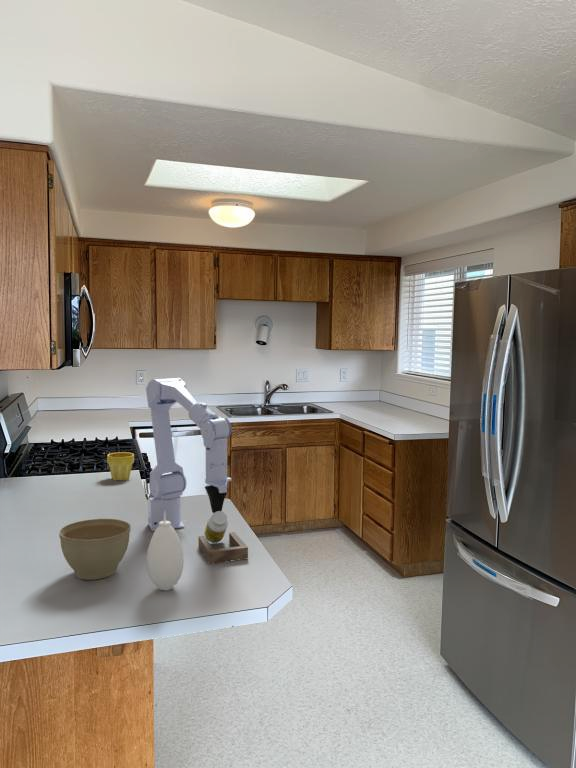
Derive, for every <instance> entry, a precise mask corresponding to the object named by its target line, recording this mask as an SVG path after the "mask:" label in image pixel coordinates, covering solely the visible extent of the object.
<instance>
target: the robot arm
mask: <svg viewBox="0 0 576 768" xmlns="http://www.w3.org/2000/svg"><path fill="white" fill-rule="evenodd" d="M145 390H146V391H145V392H146V399H147V407H148V408H149V409H150V417H151V424H152V431H153V440H154V447H155V449H154V450H155V457H156V466H155V467H154V468H152V469H151V471H150V472H149V483H148V487H149V491H150V493H151V495H152V496H153V497H149V498H148V502H147V508H148V509H147V511H148V513H147V514H148V516H147V523H148V526H149V528H150V530H151V532H155V531H156V529H157V528H158V527H159V522H161V521H164V511H165V513H166V521H170V522H171V526H172V527H173V528H174V529H179V528H180V529H181V528H184V527H185V525H184V523H183V522H182V520H181V519H182V518H181V517H182V516H181V515H182V514H181V512H182V509H181V504H182V503H181V502H182V501H181V496H183V493H184V492H185V490H186V489H187V482H188V481H187V479H186V476H185V474H184V468H183V467H182V466H181V465H180V464H178V463H177V462H176V459H175V451H174V443H173V442H174V441H173V435H172V427H171V419H170V410H171V408H172V407H173V406H175V404H177V403H178V404H179V405H180V406H181V407H183V408H184V409H185V410H186V411H188V418H189V419H190V420H191V421H192V422H193V424H195V425H196V426H197V427H198V428H199V429H200V435H201V437H202V439H203V440H202V441H203V447H205V479H204V482H205V484H207V485H206V486H205V485H204V490H205V491H206V493H207V495H208V499H209V504H210V508H211V511H212V513H213V514H214V513H215V512H217V511H222V512H223V507H224V502H225V499H226V496H227V494H228V493H229V487H228V483H229V482H232V478H231V477H228V439H229V437H230V436H231V435H232V424H231V422H230V420H229V419H228V418H227V417H225V416H221V415H220V416H218V415H217V414H216V413H215V412H214V411H213V410H212V409H211V408H210V407H209V406H208V404H207V403H206V402H198V401H197V400H196V399H195V398H194V397H193V396H192V394H191V393H190V392H189V391H188V389H187V384H186V382H185V381H184V380H183V379H182V378H180V377H173V378H157V379H156V378H151V379H150V380H149V381H148V383H147V385H146V387H145Z"/></svg>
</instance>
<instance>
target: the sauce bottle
mask: <svg viewBox="0 0 576 768" xmlns="http://www.w3.org/2000/svg"><path fill="white" fill-rule="evenodd" d="M146 553H147V554H146V569H147V573H148V577H149V580H150V582H151V583H152V585H153V586H155V587H157V589H158V590H161V591H163V590H165V591H164V592H166V590H167V591H169V590H170V589H173V588H174V586H175V585H177V584H178V582H179V581H180V579H181V577H182V574H183V569H184V551H183V547H182V542H181V539H180V538H179V535H178V533H177V531H176V530H175V528H173V527H172V526H171V522H170V521H166V513H165V511H164V521H161V522H159V527H158V528H157V529H156V531H153V534H152V537H151V539H150V542H149V545H148V549H147V552H146Z"/></svg>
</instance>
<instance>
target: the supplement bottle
mask: <svg viewBox="0 0 576 768" xmlns="http://www.w3.org/2000/svg"><path fill="white" fill-rule="evenodd" d="M228 525H229V521H228V515H227V514H226V513H225V512H224V511H223V510H222V511H217V512H215V513H213V514H212V515H210V517H208V519H207V524H206V526H205V530H204V536H205V538H206V539H207V541H208V542H209V543H214V544H215V543H220V542H221V541H222V540H223V538H224V536H225V534H226V531H227V528H228Z"/></svg>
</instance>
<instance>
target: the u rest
mask: <svg viewBox="0 0 576 768" xmlns="http://www.w3.org/2000/svg"><path fill="white" fill-rule="evenodd" d="M228 543H230V544H231V545H230V544H229V545H230V547H223V548H217V549H214V548H213V546H212V545H211V542H209V541H208V540H207V539H206V537H205V535H198V549H199V548H200V549H199V550H200V552H201V553H202V555H203V556H204V558H205V560H206V559H207V560H206V561H207V563H208V562H209V563H208V564H209V565H212V564H211V563H215V564H220V563H219V562H222V563H226V562H225V561H229V562H232V561H231V560H236V561H239V560H238V559H244V560H246V559H245V558H248V559H249V547H248V546H247V544H245V542H244V541H243V540H242V539H241V537H239V536H238V534H237V533H236V532H235V531H232V532H231V531H230V532H229V533H228Z"/></svg>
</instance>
